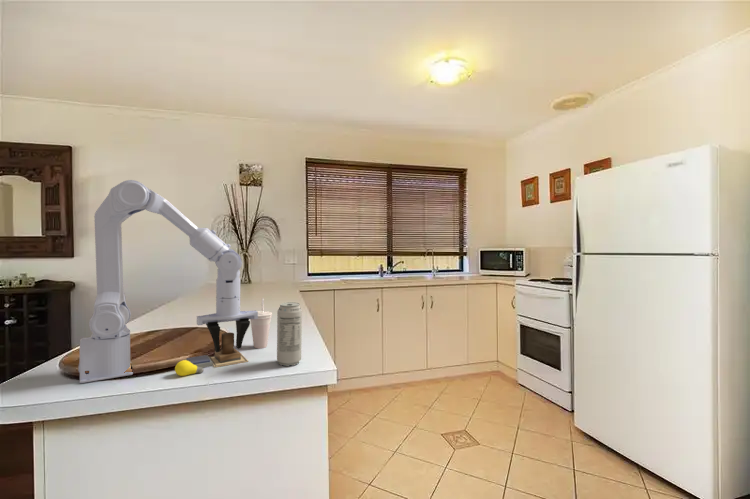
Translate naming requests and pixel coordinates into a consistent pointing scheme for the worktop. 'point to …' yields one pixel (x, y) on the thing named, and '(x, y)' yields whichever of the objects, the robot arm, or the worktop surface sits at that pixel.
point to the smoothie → (261, 328)
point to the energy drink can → (289, 333)
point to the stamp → (227, 349)
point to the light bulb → (187, 368)
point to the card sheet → (218, 364)
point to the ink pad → (201, 361)
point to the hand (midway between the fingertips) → (228, 349)
